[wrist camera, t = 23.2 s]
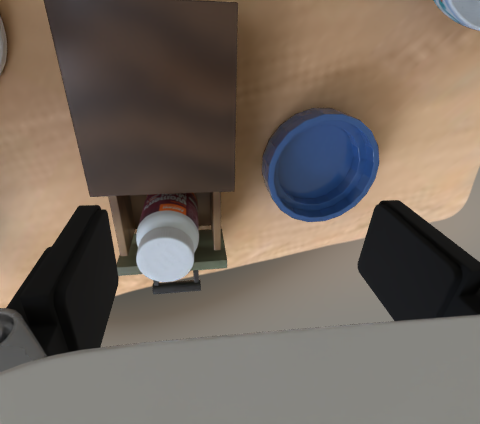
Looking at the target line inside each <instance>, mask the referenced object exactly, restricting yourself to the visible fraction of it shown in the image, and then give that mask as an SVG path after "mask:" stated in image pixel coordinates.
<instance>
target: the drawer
mask: <svg viewBox="0 0 480 424" xmlns="http://www.w3.org/2000/svg"><path fill="white" fill-rule="evenodd" d="M194 194H195V196H196V199H197V204H198V225H199V226H206V225H211V229H212V230H199V242H198V246H197V249H196V251H195V252H194V264H193V266H192V269H191V270H193V273H194V280H190V281H189V280H188V281H175V282H162V283H159V281H155V280H153V281H154V283H153V294H164V293H176V292H189V291H200V290H201V284H200V280H199V276H198V270H205V269H219V268H227V257H226V251H225V245H224V239H223V233H222V229H221V195H220V192H204V193H194ZM108 197H109V202H110V207H111V212H112V217H113V222H114V226H115V231H116V236H117V241H118V246H119V251H120V256H119V259H118V262H117V271H118V276H122V275H136V274H143V273H142V272H141V271H140V270H139V268H138V266H137V262H136V256H137V251H138V246H137V242H136V234H134V232H135V229H137V228H138V225H139V222H140V218H141V214H142V210H143V207H144V203H145V200H146V197H147V195H126V196H108ZM191 270H190V271H191Z"/></svg>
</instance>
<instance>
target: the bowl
mask: <svg viewBox="0 0 480 424" xmlns="http://www.w3.org/2000/svg"><path fill="white" fill-rule="evenodd" d="M378 166H379V150H378V145H377V142H376V140H375V138H374V136H373V133H372V131H371V130H370V129H369V128H368V127H367V126H366V125H364V124H363V123H362V122H361V121H360V120H358V119H356V118H354V117H352V116H350V115H348V114H346V113H343V112H341V111H338V110H335V109H333V108H312V109H309V110H306V111H303V112H300V113H297V114H295V115H294V116H292V117H291V118H290V119H288V120H287V121H285V122H284V123H283V124H281V125H280V127H279V128H278V129H277V130H276V132H275V133H274V134H273V135H272V137H271V138H270V140H269V142H268V144H267V147H266V149H265V152H264V154H263V162H262V174H263V178H264V181H265V185H266V187H267V189H268V191H269V193H270V195H271V197H272V199H273V200H274V202H275V203H276V204H277V206H278V207H279V208H280V210H281V211H283V212H284V213H286V214H287V215H289V216H290V217H292V218H294V219H298V220H302V221H306V222H318V221H326V220H329V219H332V218H335V217H338V216H340V215H342V214H344V213H345V212H347V211H348V210H350V209H352V208H353V207H355V206H356V205H357V203H358V202H359V201H360V200H361V199H362V198H363V197H364V196H365V195H366V194H367V192H368V191H369V189H370V187H371V185H372V184H373V182H374V180H375V178H376V174H377V170H378Z"/></svg>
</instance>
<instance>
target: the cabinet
mask: <svg viewBox="0 0 480 424" xmlns="http://www.w3.org/2000/svg"><path fill="white" fill-rule="evenodd" d="M44 3H45V8H46V12H47V16H48V20H49V25H50V29H51V33H52V37H53V42H54V46H55V50H56V54H57V58H58V63H59V67H60V71H61V75H62V80H63V84H64V88H65V92H66V97H67V101H68V105H69V109H70V114H71V118H72V122H73V126H74V131H75V135H76V139H77V143H78V148H79V152H80V156H81V160H82V165H83V169H84V173H85V177H86V182H87V186H88V190H89V194H90V197H100V196H126V195H152V194H178V193H204V192H231V191H234V189H235V133H236V78H237V23H238V3H237V2H217V1H195V0H44Z"/></svg>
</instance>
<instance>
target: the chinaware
mask: <svg viewBox="0 0 480 424" xmlns="http://www.w3.org/2000/svg"><path fill="white" fill-rule="evenodd" d="M433 1H434V2H435V4H436V5H437V6H438V8H439V9H440V10H441V11H442V12H443V13H444V14H445V15H446V16H448V17H449V18H450V19H452V20H453V21H455V22H457V23H459V24H461V25H463V26H465V27H468V28H471V29H474V30H478V31H480V0H433Z"/></svg>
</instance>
